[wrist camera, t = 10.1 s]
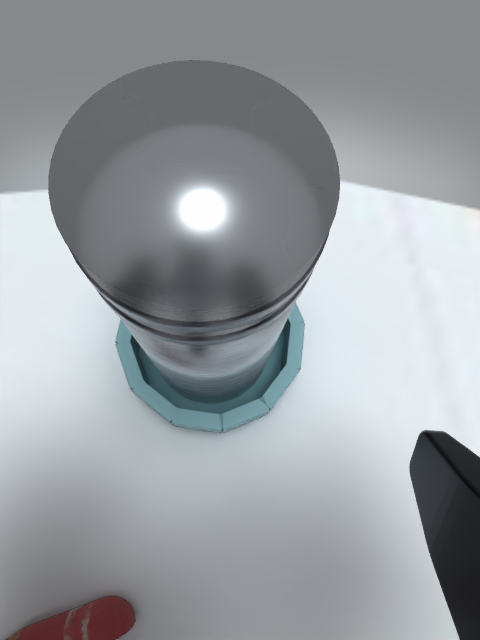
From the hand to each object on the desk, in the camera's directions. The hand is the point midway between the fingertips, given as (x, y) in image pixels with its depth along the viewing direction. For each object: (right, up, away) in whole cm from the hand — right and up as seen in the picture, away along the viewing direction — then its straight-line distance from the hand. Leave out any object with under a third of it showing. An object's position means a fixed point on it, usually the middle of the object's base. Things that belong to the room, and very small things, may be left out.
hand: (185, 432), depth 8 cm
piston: (0, +1, +12) cm, 12 cm away
